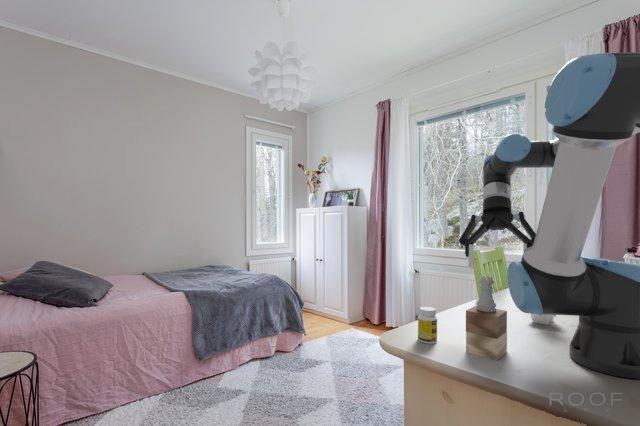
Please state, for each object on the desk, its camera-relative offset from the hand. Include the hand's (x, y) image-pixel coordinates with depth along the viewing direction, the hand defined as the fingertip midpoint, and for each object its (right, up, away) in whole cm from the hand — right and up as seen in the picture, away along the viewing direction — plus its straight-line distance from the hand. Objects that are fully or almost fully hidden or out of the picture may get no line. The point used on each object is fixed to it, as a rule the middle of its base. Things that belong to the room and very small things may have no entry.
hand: (497, 267), depth 94 cm
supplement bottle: (-21, -18, -5) cm, 28 cm away
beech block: (-8, -18, -11) cm, 23 cm away
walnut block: (-9, -13, -11) cm, 20 cm away
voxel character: (+19, -19, +11) cm, 29 cm away
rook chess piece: (-9, -9, -11) cm, 17 cm away
